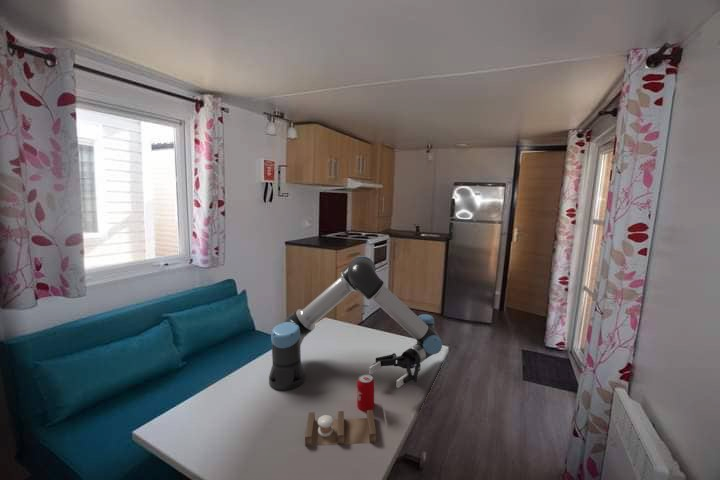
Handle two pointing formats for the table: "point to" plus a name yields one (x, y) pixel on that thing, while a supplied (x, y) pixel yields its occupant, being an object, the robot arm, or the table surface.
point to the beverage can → (365, 392)
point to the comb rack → (342, 430)
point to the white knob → (325, 426)
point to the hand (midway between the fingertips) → (382, 377)
